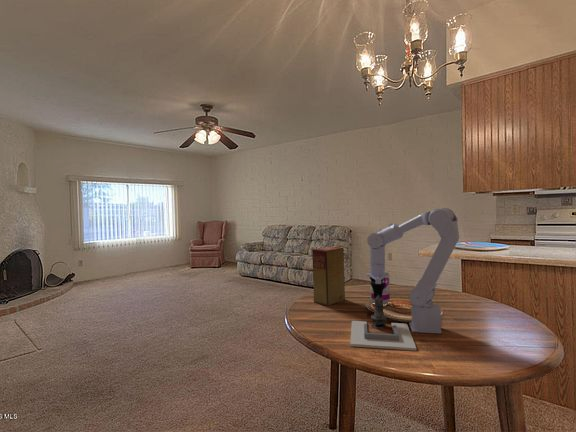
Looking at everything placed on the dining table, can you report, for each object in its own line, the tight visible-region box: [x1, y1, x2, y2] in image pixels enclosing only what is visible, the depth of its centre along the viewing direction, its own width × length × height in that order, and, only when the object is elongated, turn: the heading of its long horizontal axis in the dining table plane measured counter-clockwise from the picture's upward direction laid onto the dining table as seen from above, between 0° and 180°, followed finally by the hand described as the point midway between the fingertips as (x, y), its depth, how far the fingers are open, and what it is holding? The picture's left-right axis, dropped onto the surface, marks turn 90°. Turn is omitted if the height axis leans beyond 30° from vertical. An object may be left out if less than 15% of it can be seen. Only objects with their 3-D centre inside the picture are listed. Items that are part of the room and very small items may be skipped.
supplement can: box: [370, 269, 391, 304], centre depth 141 cm, size 8×8×15 cm
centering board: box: [349, 320, 417, 352], centre depth 108 cm, size 20×20×2 cm
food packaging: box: [311, 246, 346, 307], centre depth 148 cm, size 13×9×25 cm
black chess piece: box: [370, 294, 388, 330], centre depth 116 cm, size 6×6×12 cm
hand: (377, 297), depth 124 cm, fingers open, 7 cm apart
